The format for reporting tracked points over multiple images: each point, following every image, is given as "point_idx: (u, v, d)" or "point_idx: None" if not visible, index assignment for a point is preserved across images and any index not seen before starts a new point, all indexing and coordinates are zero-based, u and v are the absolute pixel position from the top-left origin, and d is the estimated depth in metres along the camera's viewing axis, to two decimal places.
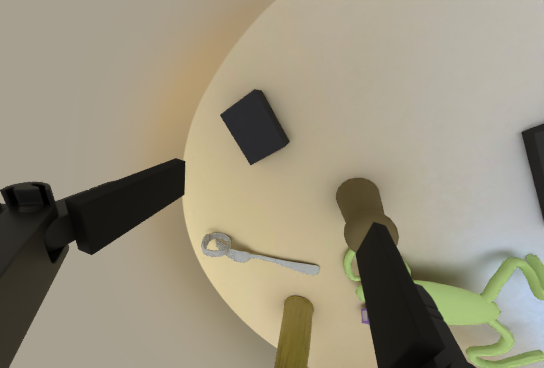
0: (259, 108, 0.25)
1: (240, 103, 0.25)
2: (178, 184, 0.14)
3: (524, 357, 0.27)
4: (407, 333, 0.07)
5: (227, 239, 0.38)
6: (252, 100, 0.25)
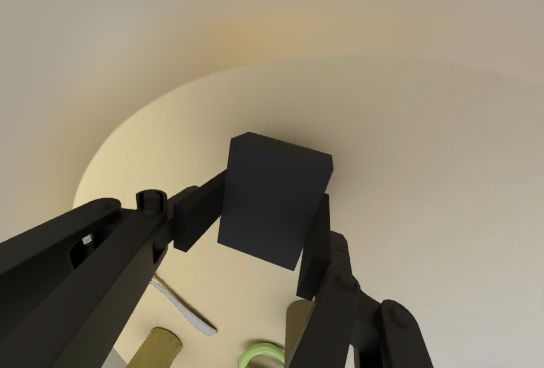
0: (309, 199, 0.11)
1: (285, 161, 0.11)
2: None
3: None
4: (310, 256, 0.09)
5: None
6: (310, 178, 0.11)
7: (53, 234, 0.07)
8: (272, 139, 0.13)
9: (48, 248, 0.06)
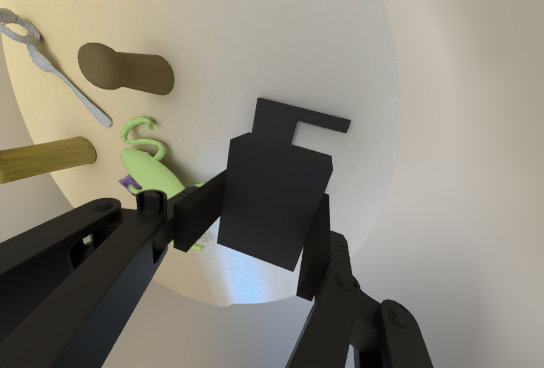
0: (308, 200, 0.11)
1: (285, 161, 0.11)
2: None
3: None
4: (310, 256, 0.09)
5: (37, 37, 0.36)
6: (310, 179, 0.11)
7: (53, 234, 0.07)
8: (272, 140, 0.13)
9: (48, 248, 0.06)
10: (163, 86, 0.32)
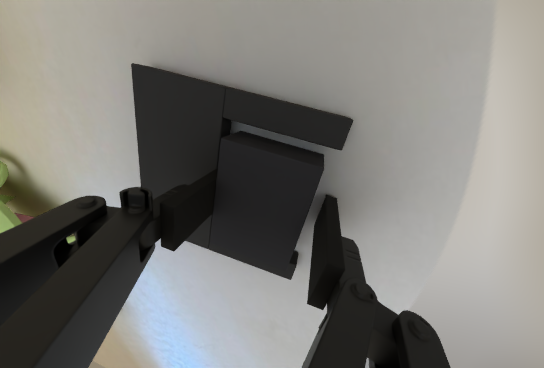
0: (300, 199, 0.11)
1: (276, 160, 0.11)
2: None
3: None
4: (323, 264, 0.08)
5: None
6: (301, 178, 0.11)
7: (35, 233, 0.06)
8: (264, 138, 0.13)
9: (31, 247, 0.06)
10: None
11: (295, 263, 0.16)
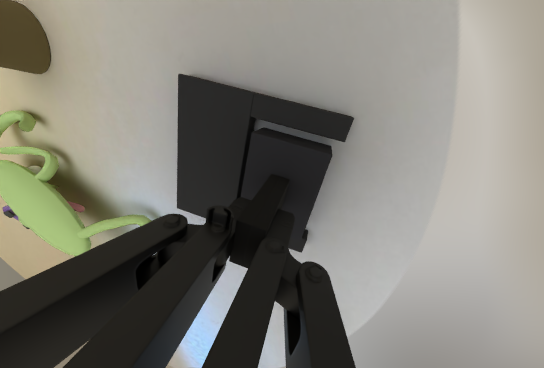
0: (313, 180, 0.14)
1: (295, 149, 0.14)
2: None
3: None
4: None
5: None
6: (314, 163, 0.14)
7: (126, 249, 0.07)
8: (283, 133, 0.16)
9: (119, 265, 0.06)
10: (23, 55, 0.18)
11: (305, 238, 0.19)
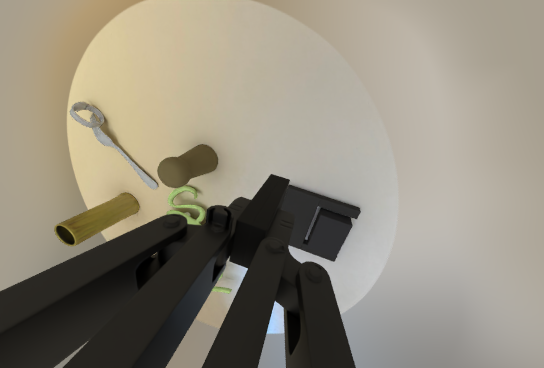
0: (344, 233, 0.36)
1: (337, 222, 0.36)
2: None
3: (221, 288, 0.48)
4: None
5: (102, 119, 0.43)
6: (345, 228, 0.36)
7: (126, 250, 0.07)
8: (329, 211, 0.38)
9: (119, 265, 0.06)
10: (210, 170, 0.40)
11: None
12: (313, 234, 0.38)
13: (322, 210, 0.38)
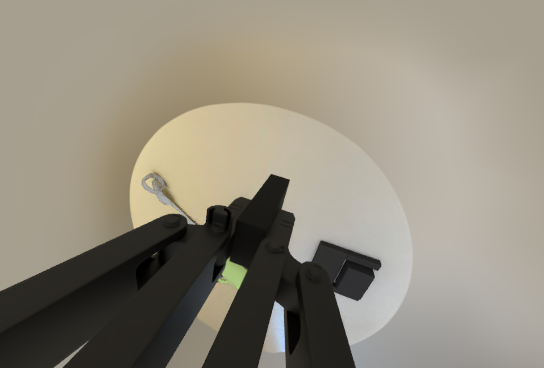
0: (367, 282, 0.45)
1: (362, 274, 0.44)
2: None
3: None
4: None
5: (163, 184, 0.52)
6: (368, 278, 0.44)
7: (126, 250, 0.07)
8: None
9: (119, 265, 0.06)
10: None
11: None
12: (341, 281, 0.47)
13: (349, 262, 0.46)
